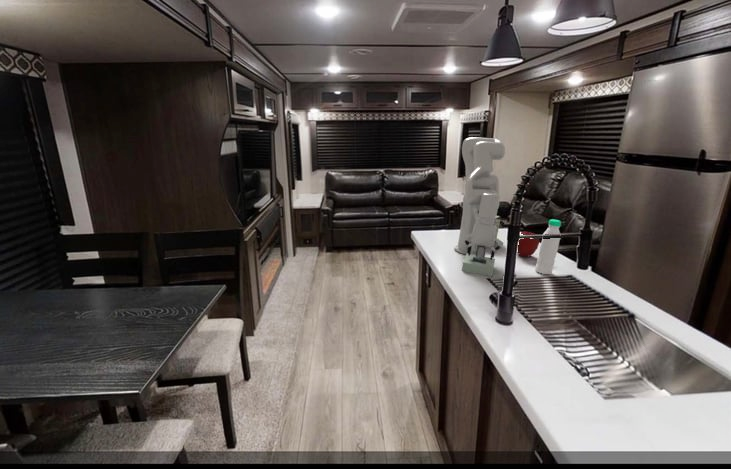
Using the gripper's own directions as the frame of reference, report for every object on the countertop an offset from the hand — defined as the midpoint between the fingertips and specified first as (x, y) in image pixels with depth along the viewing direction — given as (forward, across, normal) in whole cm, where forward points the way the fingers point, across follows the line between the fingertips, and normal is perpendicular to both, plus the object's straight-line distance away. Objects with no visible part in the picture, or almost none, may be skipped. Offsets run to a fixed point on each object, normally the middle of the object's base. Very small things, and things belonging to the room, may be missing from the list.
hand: (480, 256), depth 155 cm
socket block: (+6, 0, 0) cm, 6 cm away
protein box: (+6, +2, -44) cm, 44 cm away
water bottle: (+6, -28, -12) cm, 31 cm away
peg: (+6, 0, 0) cm, 6 cm away
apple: (+6, -20, -32) cm, 38 cm away
